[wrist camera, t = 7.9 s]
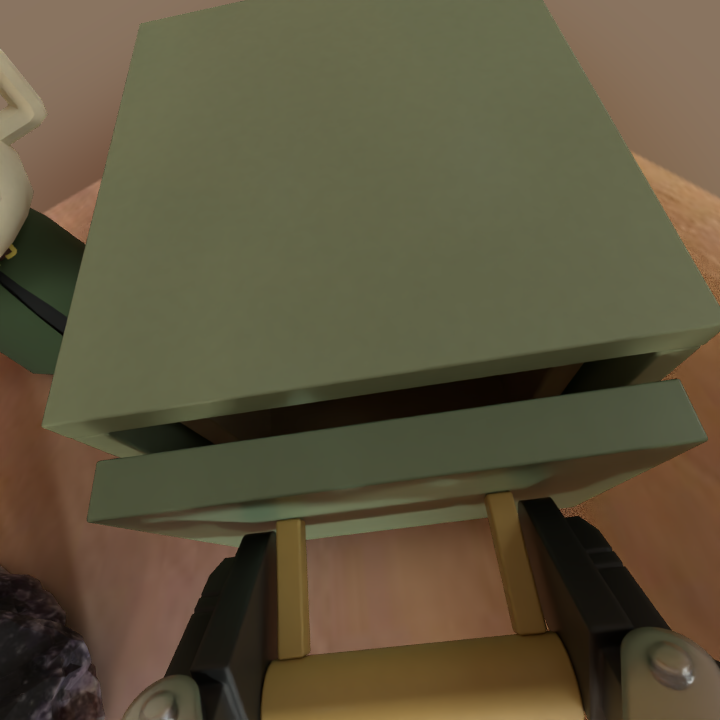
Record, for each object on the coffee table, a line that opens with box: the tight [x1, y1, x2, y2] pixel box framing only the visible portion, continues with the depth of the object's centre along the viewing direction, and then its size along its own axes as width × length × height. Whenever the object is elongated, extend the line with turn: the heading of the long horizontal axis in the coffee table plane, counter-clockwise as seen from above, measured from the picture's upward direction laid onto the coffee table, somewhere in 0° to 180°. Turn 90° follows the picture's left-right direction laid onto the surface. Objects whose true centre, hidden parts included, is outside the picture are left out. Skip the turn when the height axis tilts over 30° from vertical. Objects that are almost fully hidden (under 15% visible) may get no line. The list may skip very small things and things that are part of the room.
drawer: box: [87, 362, 708, 720], centre depth 13 cm, size 18×11×8 cm, turn 6°
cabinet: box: [42, 0, 720, 458], centre depth 15 cm, size 15×13×10 cm
